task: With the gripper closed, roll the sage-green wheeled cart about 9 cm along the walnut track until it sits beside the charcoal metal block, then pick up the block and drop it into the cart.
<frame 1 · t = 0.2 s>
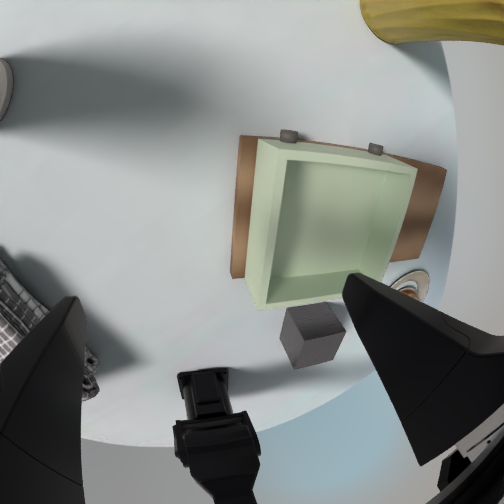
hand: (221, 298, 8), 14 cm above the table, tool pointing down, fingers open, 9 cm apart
vase: (383, 15, 15), on the table
pastry: (396, 299, 37), on the table
towel: (17, 323, 21), on the table
block: (302, 320, 32), on the table
track: (356, 209, 25), on the table
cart: (330, 225, 21), point 3 cm above the table, slide at 0.0 cm
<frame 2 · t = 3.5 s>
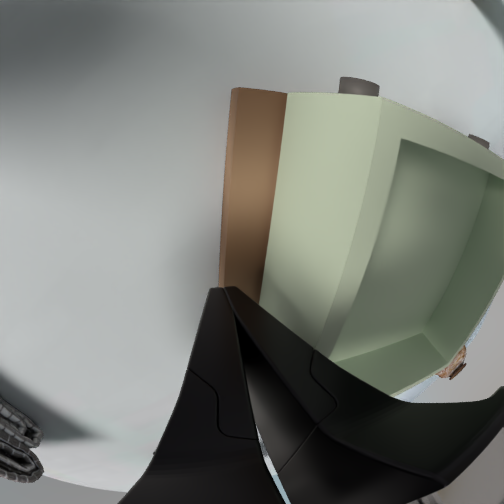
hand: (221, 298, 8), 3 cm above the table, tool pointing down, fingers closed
pastry: (437, 344, 26), on the table
track: (426, 242, 14), on the table
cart: (415, 285, 10), point 3 cm above the table, slide at 0.4 cm, touching gripper
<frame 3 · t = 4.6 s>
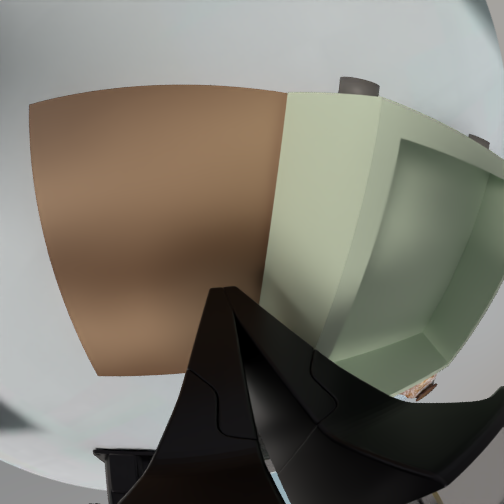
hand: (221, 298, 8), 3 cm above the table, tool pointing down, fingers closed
pastry: (404, 360, 24), on the table
track: (345, 247, 12), on the table
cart: (415, 285, 10), point 3 cm above the table, slide at 6.7 cm, touching gripper
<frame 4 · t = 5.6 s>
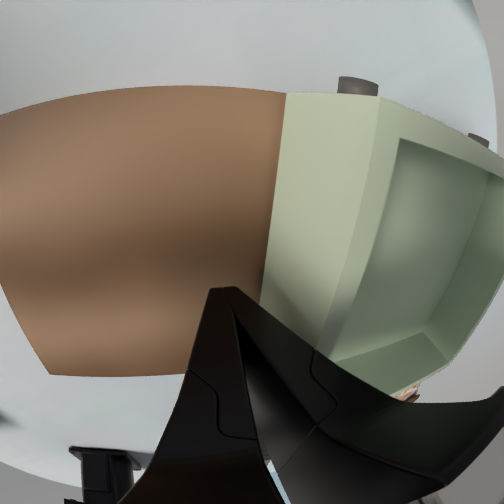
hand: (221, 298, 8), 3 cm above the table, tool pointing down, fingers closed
track: (285, 250, 11), on the table
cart: (415, 284, 10), point 3 cm above the table, slide at 9.7 cm, touching gripper
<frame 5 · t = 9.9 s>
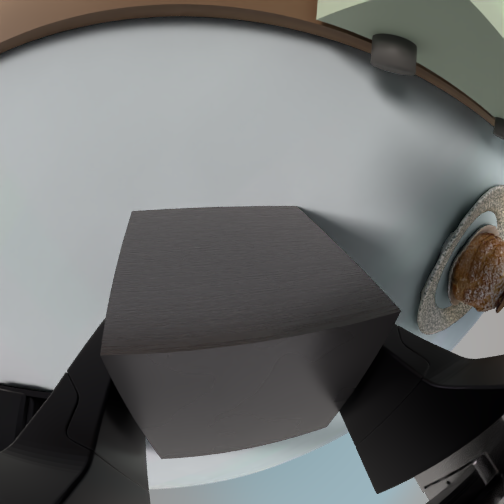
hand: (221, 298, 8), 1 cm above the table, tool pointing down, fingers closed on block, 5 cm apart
pastry: (464, 257, 15), on the table
block: (215, 277, 9), on the table, touching gripper
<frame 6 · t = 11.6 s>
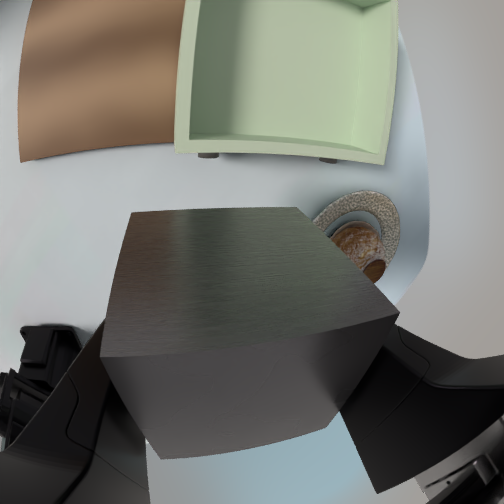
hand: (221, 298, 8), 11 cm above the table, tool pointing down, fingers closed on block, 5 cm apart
pastry: (346, 245, 25), on the table
block: (215, 278, 9), point 10 cm above the table, touching gripper
track: (199, 51, 13), on the table
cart: (292, 49, 12), point 3 cm above the table, slide at 9.7 cm
when the fingers open (6 cm above the table, at t = 13.5 s): block drops 3 cm, resting on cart.
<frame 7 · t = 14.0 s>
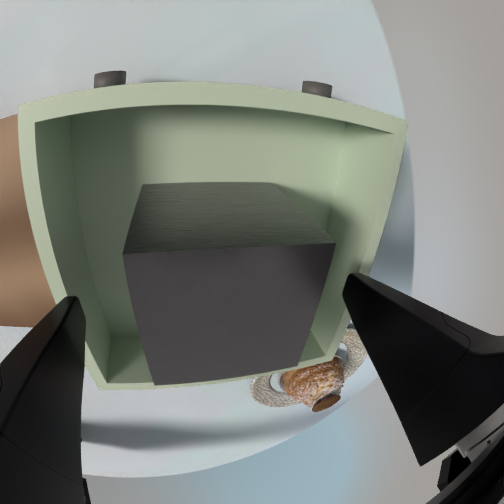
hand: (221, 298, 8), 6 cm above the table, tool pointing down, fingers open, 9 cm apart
pastry: (308, 363, 24), on the table
block: (206, 240, 11), point 2 cm above the table, touching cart
track: (110, 222, 12), on the table
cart: (214, 251, 11), point 3 cm above the table, slide at 9.7 cm, touching block
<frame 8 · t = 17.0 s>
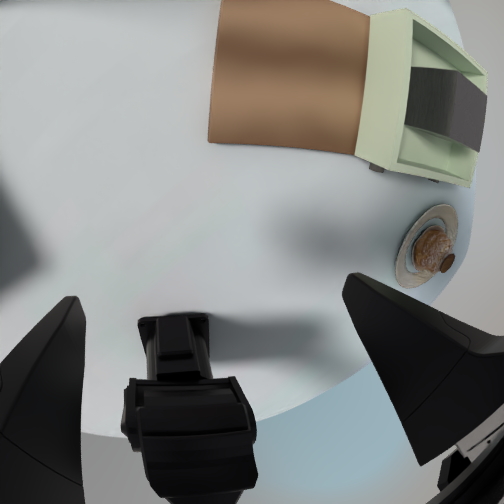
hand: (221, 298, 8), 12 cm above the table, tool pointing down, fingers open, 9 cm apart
pastry: (423, 243, 30), on the table
block: (423, 103, 17), point 2 cm above the table, touching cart
track: (367, 85, 17), on the table
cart: (433, 104, 16), point 3 cm above the table, slide at 9.7 cm, touching block
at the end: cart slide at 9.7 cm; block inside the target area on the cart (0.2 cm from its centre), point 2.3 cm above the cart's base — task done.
